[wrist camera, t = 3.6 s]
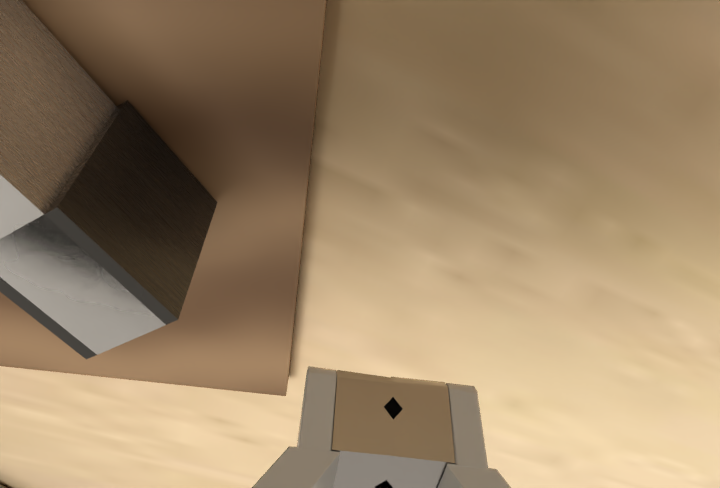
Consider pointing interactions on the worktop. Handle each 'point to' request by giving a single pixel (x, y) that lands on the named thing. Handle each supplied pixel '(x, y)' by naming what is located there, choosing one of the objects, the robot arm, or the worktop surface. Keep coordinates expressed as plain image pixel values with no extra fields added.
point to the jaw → (88, 199)
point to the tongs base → (205, 176)
